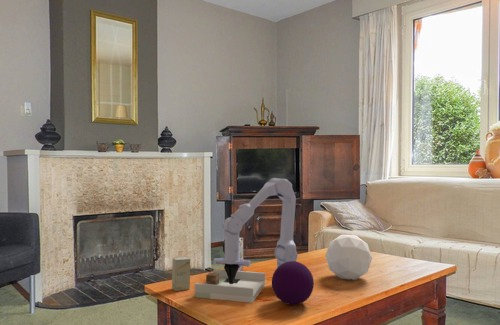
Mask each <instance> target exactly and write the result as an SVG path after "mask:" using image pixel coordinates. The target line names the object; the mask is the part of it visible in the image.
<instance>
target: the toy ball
mask: <svg viewBox="0 0 500 325" xmlns="http://www.w3.org/2000/svg"><path fill="white" fill-rule="evenodd" d="M314 283H315V282H314V276H313V274H312V272H311V270H310V269H309V268H308V267H307V266H306V265H305V264H303V263H301V262H299V261H297V260H296V261H289V262H285V263H283V264H281V265H280V266H279V267H278V268H277V267H276V269H275V270H274V271H273V273H272V276H271V287H272V291H273V293H274V295H275V296H276V298H277V299H278V300H279V301H281V302H282V303H284V304H287V305H291V306H296V305H299V304H302V303H304V302H306V301H307V300H308V299H309V298H310V296H311V295H312V293H313V290H314Z"/></svg>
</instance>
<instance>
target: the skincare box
mask: <svg viewBox="0 0 500 325" xmlns="http://www.w3.org/2000/svg"><path fill="white" fill-rule="evenodd" d="M171 265H172V266H171V267H172V268H171V269H172V271H171V288H172V290H173V291H175V292H178V291H185V290H188V291H189V290H190V288H191V282H190V281H191V258H190V257H188V256H180V257H172V264H171Z"/></svg>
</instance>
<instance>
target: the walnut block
mask: <svg viewBox="0 0 500 325" xmlns="http://www.w3.org/2000/svg"><path fill="white" fill-rule="evenodd" d="M205 277H206V278H205V283H206V284H213V285H217V284H219V273H213V272H208V273H207V274H206V275H205Z"/></svg>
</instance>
